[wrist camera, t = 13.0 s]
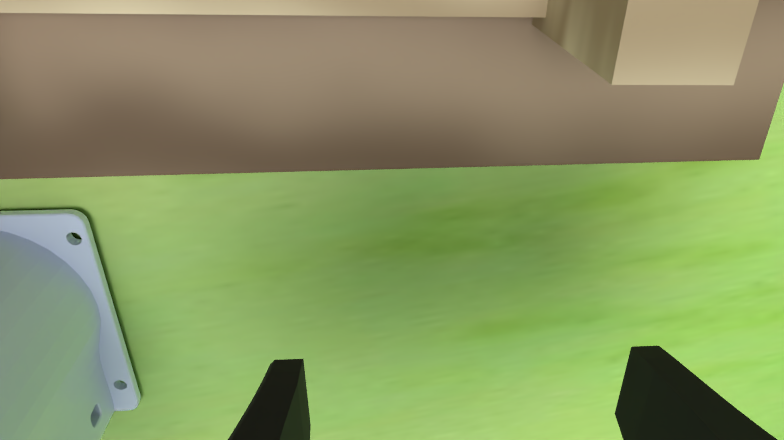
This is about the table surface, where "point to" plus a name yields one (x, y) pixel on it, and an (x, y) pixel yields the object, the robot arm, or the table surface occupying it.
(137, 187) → the table surface
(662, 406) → the robot arm
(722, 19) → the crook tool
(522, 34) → the deck
